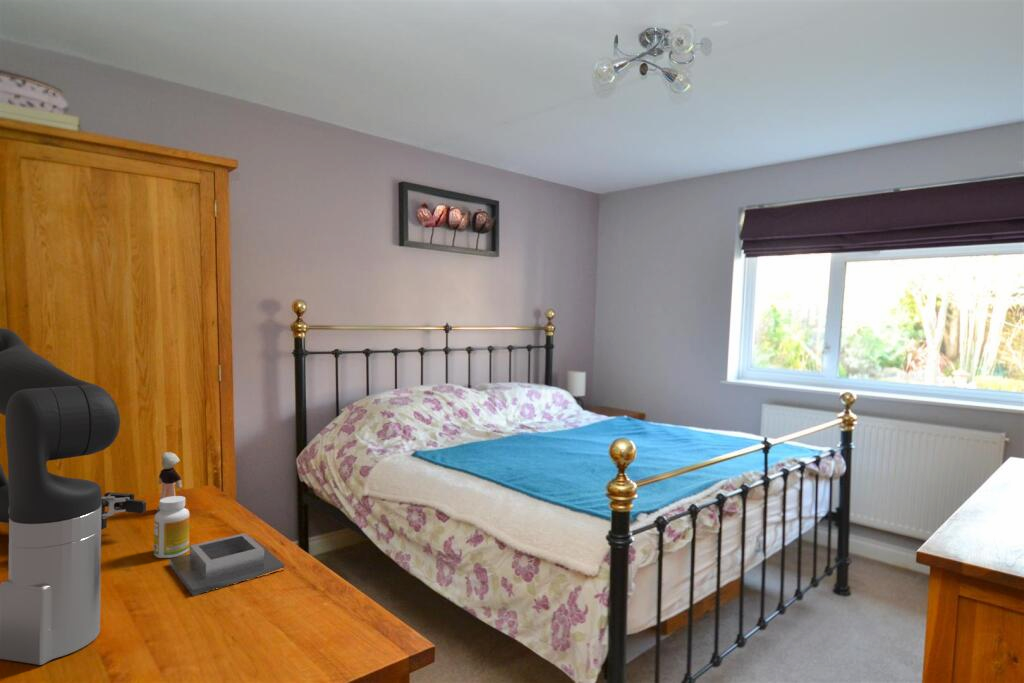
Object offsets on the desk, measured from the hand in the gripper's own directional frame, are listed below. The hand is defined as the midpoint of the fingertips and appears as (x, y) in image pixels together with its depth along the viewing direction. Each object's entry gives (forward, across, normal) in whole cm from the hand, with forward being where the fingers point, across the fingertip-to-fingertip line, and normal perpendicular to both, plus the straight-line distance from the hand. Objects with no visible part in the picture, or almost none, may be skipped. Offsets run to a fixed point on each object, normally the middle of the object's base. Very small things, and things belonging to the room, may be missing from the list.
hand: (125, 514), depth 101 cm
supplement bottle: (+9, 0, +6) cm, 11 cm away
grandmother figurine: (-7, +18, +6) cm, 20 cm away
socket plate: (+22, -3, +6) cm, 23 cm away
